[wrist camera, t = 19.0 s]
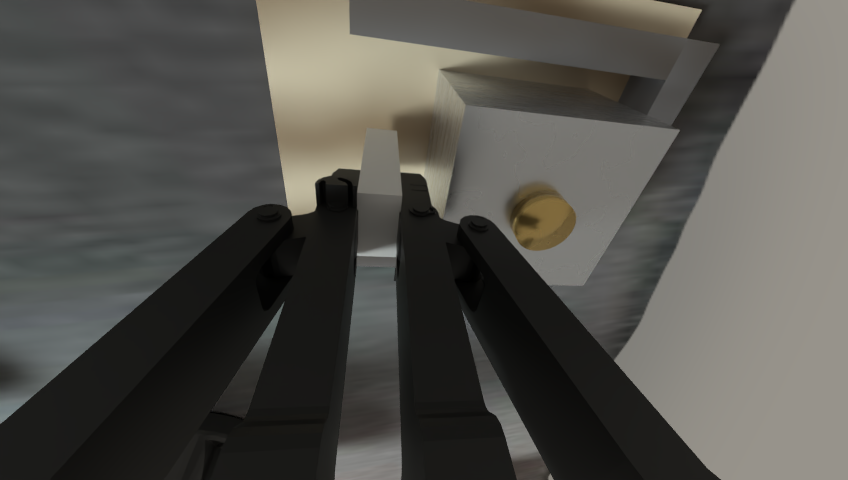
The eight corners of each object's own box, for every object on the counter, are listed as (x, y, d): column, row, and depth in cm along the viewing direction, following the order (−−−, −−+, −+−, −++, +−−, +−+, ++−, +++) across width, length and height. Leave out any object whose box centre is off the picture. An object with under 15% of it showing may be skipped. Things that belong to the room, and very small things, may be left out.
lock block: (535, 216, 21) (591, 297, 15) (419, 209, 20) (432, 294, 14) (588, 88, 16) (697, 137, 11) (438, 69, 15) (471, 112, 9)
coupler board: (558, 253, 25) (580, 285, 22) (299, 242, 22) (286, 278, 19) (683, 9, 16) (749, 11, 13) (254, -72, 12) (215, -93, 10)
